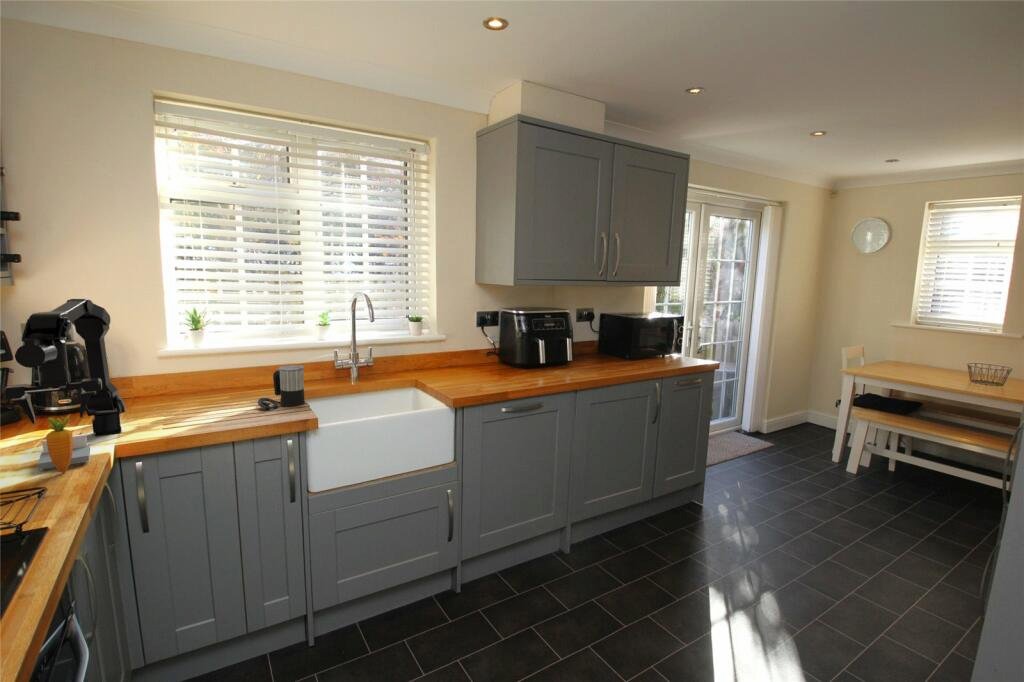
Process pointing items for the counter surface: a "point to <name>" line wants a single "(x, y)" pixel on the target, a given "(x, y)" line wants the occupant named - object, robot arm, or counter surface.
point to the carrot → (60, 444)
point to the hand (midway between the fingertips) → (58, 420)
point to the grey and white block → (78, 455)
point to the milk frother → (287, 387)
